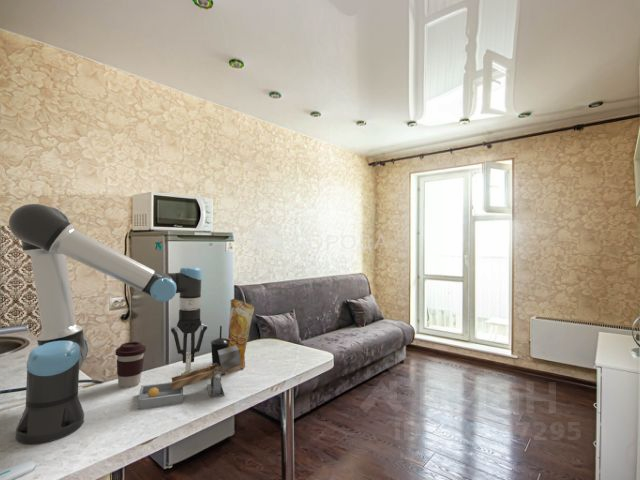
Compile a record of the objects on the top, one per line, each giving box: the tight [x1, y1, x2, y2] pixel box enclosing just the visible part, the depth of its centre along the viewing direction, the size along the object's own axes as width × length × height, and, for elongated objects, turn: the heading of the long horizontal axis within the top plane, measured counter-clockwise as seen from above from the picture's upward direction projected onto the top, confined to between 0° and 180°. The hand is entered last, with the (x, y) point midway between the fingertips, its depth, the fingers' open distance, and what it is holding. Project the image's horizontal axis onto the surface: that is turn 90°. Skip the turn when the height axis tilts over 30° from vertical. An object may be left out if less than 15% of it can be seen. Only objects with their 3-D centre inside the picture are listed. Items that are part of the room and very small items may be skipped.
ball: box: [148, 387, 159, 398], centre depth 114 cm, size 3×3×3 cm
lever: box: [171, 345, 242, 390], centre depth 123 cm, size 24×11×7 cm, turn 113°
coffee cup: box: [115, 341, 147, 388], centre depth 125 cm, size 10×10×15 cm
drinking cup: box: [210, 325, 230, 377], centre depth 137 cm, size 8×8×20 cm
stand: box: [206, 362, 225, 399], centre depth 122 cm, size 5×10×9 cm, turn 24°
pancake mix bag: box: [227, 298, 256, 370], centre depth 150 cm, size 7×19×28 cm, turn 40°
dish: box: [136, 381, 184, 410], centre depth 115 cm, size 14×12×3 cm
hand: (188, 370), depth 124 cm, fingers closed
